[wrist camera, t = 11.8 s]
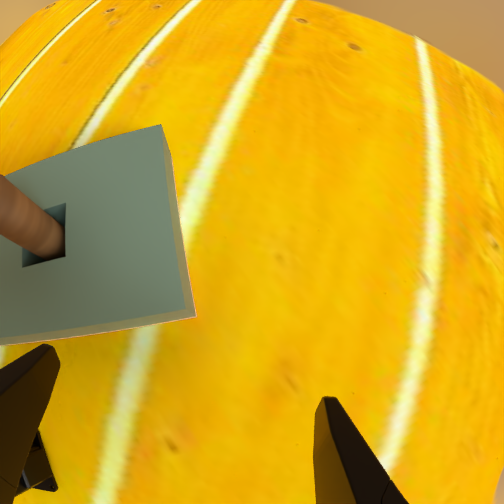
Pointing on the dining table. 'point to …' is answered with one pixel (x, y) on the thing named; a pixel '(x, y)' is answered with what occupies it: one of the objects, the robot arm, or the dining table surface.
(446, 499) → the dining table surface
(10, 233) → the pin
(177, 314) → the board
